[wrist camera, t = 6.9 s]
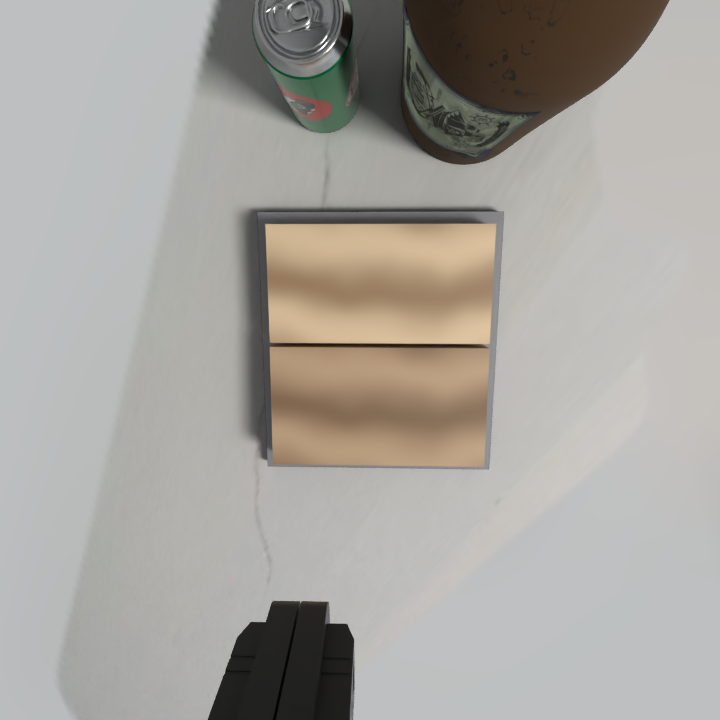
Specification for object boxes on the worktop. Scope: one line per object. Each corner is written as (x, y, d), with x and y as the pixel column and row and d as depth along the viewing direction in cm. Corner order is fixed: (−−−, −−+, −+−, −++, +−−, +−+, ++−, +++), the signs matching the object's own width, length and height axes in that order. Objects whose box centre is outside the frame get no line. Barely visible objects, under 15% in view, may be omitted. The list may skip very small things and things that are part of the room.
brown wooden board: (275, 343, 37) (269, 347, 35) (483, 344, 37) (489, 348, 35) (278, 454, 39) (272, 464, 37) (478, 457, 38) (484, 467, 36)
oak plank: (271, 226, 35) (265, 224, 33) (489, 225, 35) (496, 223, 33) (275, 338, 37) (269, 342, 35) (483, 339, 37) (489, 344, 35)
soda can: (367, 124, 35) (364, 53, 23) (301, 143, 35) (264, 84, 23) (349, 49, 34) (335, -64, 22) (281, 70, 34) (232, -30, 22)
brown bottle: (453, -23, 33) (684, -865, 8) (573, 76, 34) (1095, -416, 9) (362, 115, 35) (329, -239, 10) (477, 204, 36) (702, 77, 11)
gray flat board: (260, 213, 36) (257, 212, 35) (500, 212, 36) (504, 211, 35) (270, 461, 40) (267, 466, 39) (486, 464, 40) (489, 469, 39)
